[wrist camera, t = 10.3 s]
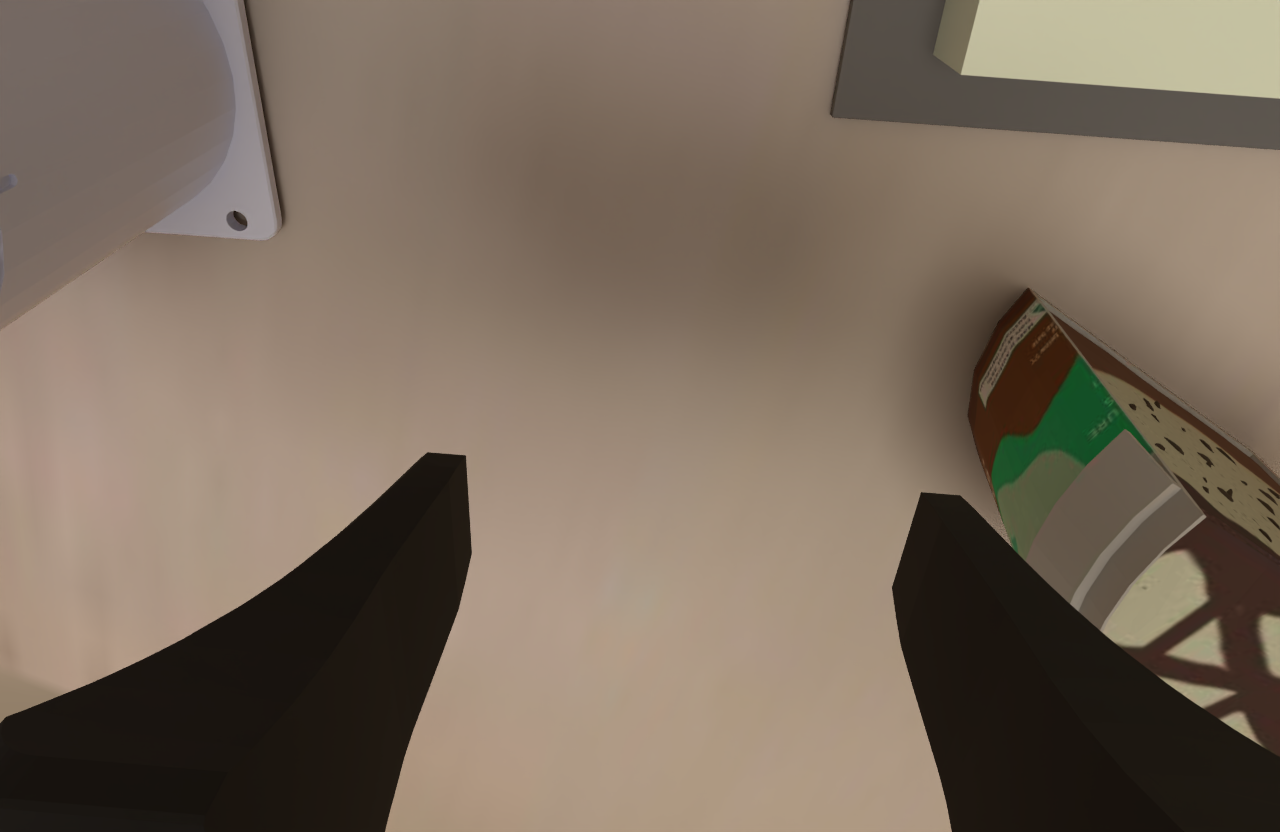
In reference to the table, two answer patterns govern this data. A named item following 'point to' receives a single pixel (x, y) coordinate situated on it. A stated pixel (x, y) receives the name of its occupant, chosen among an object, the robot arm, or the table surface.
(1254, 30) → the lid
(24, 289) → the robot arm
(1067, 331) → the food container
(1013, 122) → the rubber mat
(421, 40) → the table surface
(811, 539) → the table surface
